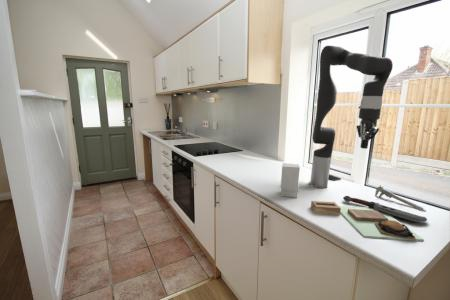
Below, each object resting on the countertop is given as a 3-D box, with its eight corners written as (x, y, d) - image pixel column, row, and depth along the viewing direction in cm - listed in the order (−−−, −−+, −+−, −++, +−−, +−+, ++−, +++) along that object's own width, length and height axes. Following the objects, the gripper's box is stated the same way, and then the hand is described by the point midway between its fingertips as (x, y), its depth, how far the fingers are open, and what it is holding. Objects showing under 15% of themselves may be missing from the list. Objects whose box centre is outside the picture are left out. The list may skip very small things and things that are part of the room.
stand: (310, 207, 99) (311, 200, 98) (333, 208, 99) (334, 202, 98) (315, 213, 93) (316, 206, 93) (339, 214, 93) (340, 208, 92)
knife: (348, 192, 111) (428, 215, 90) (347, 196, 111) (427, 220, 90) (342, 196, 105) (426, 222, 84) (341, 200, 105) (425, 227, 84)
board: (377, 210, 93) (347, 208, 94) (388, 219, 86) (356, 217, 87) (376, 214, 93) (347, 212, 94) (387, 222, 87) (356, 220, 87)
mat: (334, 206, 101) (334, 205, 100) (379, 209, 100) (379, 207, 100) (363, 237, 77) (363, 235, 77) (423, 241, 76) (423, 239, 76)
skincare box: (296, 193, 114) (299, 164, 111) (297, 198, 108) (300, 167, 105) (279, 191, 116) (282, 162, 113) (279, 196, 110) (282, 165, 107)
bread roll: (380, 234, 78) (382, 225, 77) (373, 223, 86) (375, 214, 85) (417, 241, 75) (419, 231, 74) (406, 228, 83) (408, 219, 82)
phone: (333, 179, 137) (314, 172, 150) (332, 181, 137) (313, 174, 150) (341, 178, 140) (322, 171, 153) (341, 180, 140) (322, 173, 153)
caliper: (374, 196, 116) (376, 184, 114) (375, 195, 116) (377, 184, 115) (425, 212, 99) (428, 199, 98) (426, 211, 100) (429, 198, 99)
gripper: (353, 107, 100) (347, 145, 103) (370, 107, 87) (363, 150, 91) (370, 107, 100) (364, 145, 103) (390, 108, 87) (382, 151, 90)
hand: (363, 148), depth 97 cm, fingers closed
